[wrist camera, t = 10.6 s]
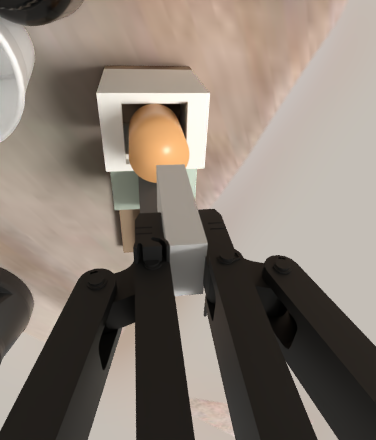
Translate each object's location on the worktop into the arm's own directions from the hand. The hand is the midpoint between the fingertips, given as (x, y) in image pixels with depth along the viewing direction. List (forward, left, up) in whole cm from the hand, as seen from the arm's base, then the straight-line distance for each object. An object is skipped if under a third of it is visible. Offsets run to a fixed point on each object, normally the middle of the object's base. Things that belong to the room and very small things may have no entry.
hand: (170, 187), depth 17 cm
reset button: (0, 0, -9) cm, 9 cm away
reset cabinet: (0, 0, -17) cm, 17 cm away
